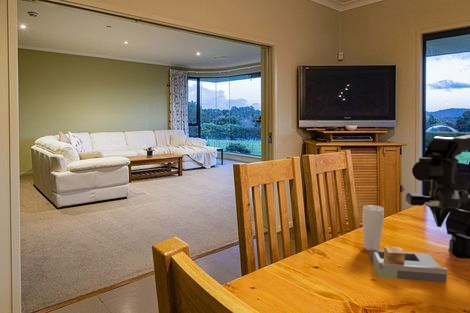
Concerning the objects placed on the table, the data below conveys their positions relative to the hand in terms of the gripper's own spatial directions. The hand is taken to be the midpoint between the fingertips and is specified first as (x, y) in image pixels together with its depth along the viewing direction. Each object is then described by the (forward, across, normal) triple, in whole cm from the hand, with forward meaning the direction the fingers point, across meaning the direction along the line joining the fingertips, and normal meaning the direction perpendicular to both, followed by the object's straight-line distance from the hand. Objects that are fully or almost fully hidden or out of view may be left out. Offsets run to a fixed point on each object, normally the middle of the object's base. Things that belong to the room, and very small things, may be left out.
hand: (438, 226), depth 105 cm
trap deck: (+12, -11, -6) cm, 17 cm away
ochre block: (+10, -15, -9) cm, 20 cm away
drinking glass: (+12, -18, +8) cm, 23 cm away
